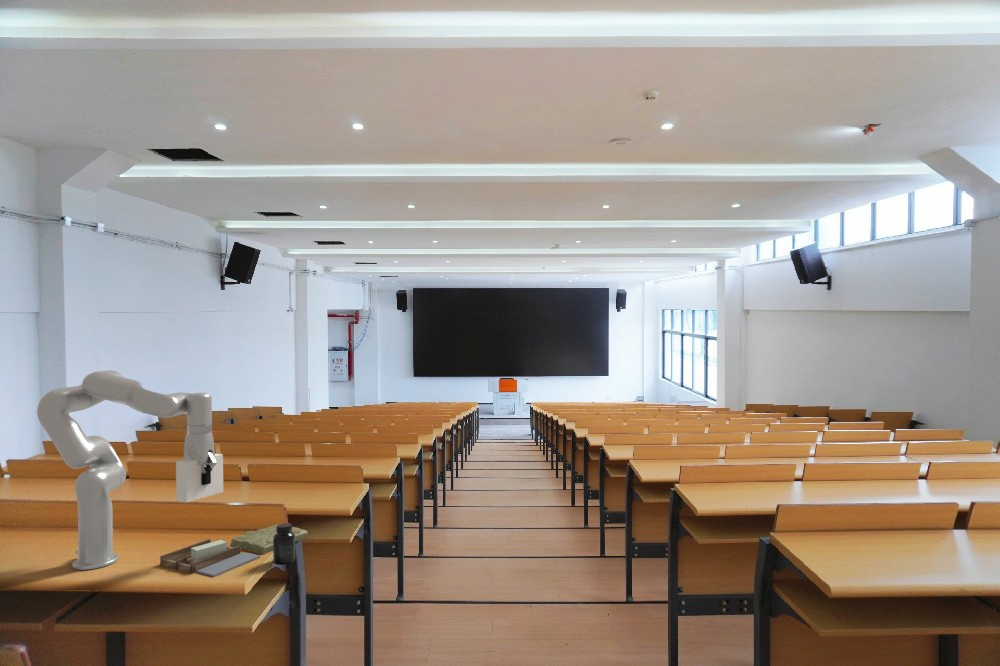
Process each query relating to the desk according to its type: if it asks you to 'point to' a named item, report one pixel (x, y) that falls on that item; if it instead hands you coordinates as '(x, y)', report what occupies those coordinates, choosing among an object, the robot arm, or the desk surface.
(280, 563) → the supplement bottle
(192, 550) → the offcut upper
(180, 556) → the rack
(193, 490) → the off-white rectangular prism
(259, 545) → the decorative tile
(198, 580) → the desk surface
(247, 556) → the mat
